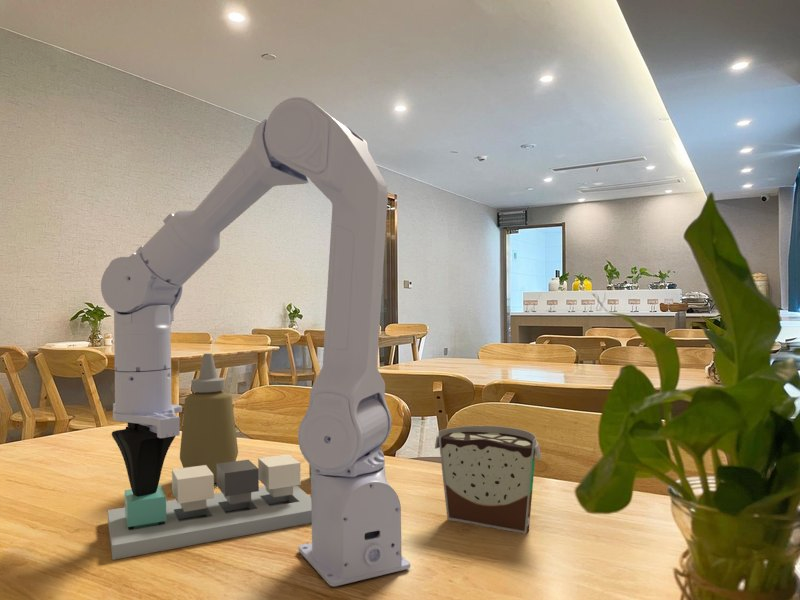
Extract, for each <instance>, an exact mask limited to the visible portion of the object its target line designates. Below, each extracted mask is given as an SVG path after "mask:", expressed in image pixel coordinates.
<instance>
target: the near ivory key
mask: <svg viewBox="0 0 800 600" xmlns="http://www.w3.org/2000/svg"><path fill="white" fill-rule="evenodd" d="M257 460H258V461H257V463H258V464H257V466H258V467H257V468H258V472H259V482H261V484H263V485H264V486H266V491H267V492H268V493H269V494H270V495H272V496H273V497H279V496H285V495H292V494H293V486H296V485H297V486H300V485H302V483H301V482H302V481H301V475H302V474H301V462H300V461H298V460H297V459H296V458H294V457H293V456H291V455H290V454H289V453H287V454H281V455H273V456H265V457H258V459H257Z"/></svg>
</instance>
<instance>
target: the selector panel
mask: <svg viewBox="0 0 800 600" xmlns="http://www.w3.org/2000/svg"><path fill="white" fill-rule="evenodd" d="M206 505H207V508H205V509H199V510H193V511H186V512H184V511H183V509H182V507H181V505H180V504H178V503H177V501H176V499H171V500H166V521H162V522H159V525H157V526H151V527H145V528H139V529H134V530H133V526H132V527H128V526H127V521H126V516H125V506H124V507H118V508H112V509H108V510H107V525H108V532H109V535H108V536H109V540H110V551H111V558H112V560H113V561H114V560H119V559H125V558H130V557H131V558H132V557H134V556H140V555H141V556H142V555H146V554H152V553H157V552H161V551H167V550H174V549H179V548H184V547H188V546H194V545H200V544H206V543H210V542H215V541H216V542H217V541H222V540H226V539H232V538H238V537H242V536H248V535H253V534H259V533H264V532H269V531H274V530H281V529H285V528H290V527H296V526H302V525H307V524H312V510H311V496H310V495H309V494H307V493H306V492H305V491H304V490H303V489H302V488H300V486H299V485H296V486H293V494H292V495H285V496H279V497H273V496H272V495H270V494H269V493H268V492H267V491H266V486H265V485H264V486H259V491H257V492H251V501H248V502H242V503H236V504H229V502H228V501H227V500H226V498H225V497H224V494H223V493H222V492H217V493H214V498H212V499H206Z"/></svg>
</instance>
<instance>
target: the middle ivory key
mask: <svg viewBox="0 0 800 600" xmlns="http://www.w3.org/2000/svg"><path fill="white" fill-rule="evenodd" d="M171 483H172V484H171V492H172V495H173V496H174V498H175V499H174V500H176V501H177V503H178V504H180V505H181V507H182V509H183V511H184V512H186V511H193V510H199V509H205V508H207V505H206V499H212V498H214V494H215V483H214V474H213V473H212V472H211V471H210V469H209V468H208V467H207V466H206V465H202V466H195V467H187V468H183V467H180V468H174V469H171Z"/></svg>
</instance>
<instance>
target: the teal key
mask: <svg viewBox="0 0 800 600" xmlns="http://www.w3.org/2000/svg"><path fill="white" fill-rule="evenodd" d="M166 501H167V495H166V493H165V491H164V489H163V485H162V484H160V485H159V484H158V488H157V491H156V493H153V494H148V495H143V496H139V497H137V496H136V495H134V494H133V492H132V489H131V488H130V489H124V507H125V516H126V521H127V526H128V527H132V526H133V530H134V529H139V528H145V527H151V526H157V525H159V522H162V521H166Z"/></svg>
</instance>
